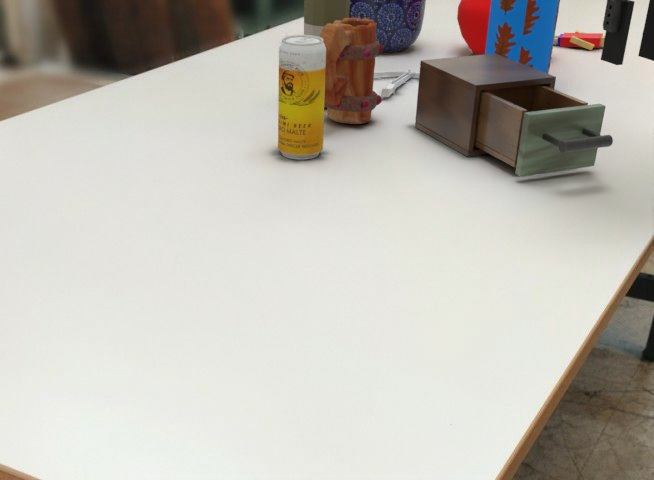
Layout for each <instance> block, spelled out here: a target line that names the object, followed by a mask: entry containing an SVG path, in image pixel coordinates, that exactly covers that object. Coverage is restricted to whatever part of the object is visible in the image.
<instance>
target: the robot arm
mask: <svg viewBox="0 0 654 480" xmlns="http://www.w3.org/2000/svg"><path fill="white" fill-rule="evenodd" d="M634 6H635V1H633V0H606V6H605V11H604V17H603V21H602V29H603V31H605V33H604V36H605V39H604V45H602V51H601V56H600V60H601V61H603V62H606V63H609V64H612V65H615V66H621V65H624V58H625V54H626V53H625V52H626V48H627V42H628V38H629V33H630V28H631V21H632V17H633V13H634V8H635V7H634ZM637 57H640V58H644V59H645V60H646V59H647V60H650V61H652V62H654V0H649V2H648V6H647V11H646V16H645V21H644V26H643V31H642V35H641V41H640V45H639V50H638V56H637Z"/></svg>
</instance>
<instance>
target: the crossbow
mask: <svg viewBox="0 0 654 480" xmlns="http://www.w3.org/2000/svg"><path fill="white" fill-rule="evenodd" d="M419 74H420V72H415V71H411V70H410V69H407V71H406V70H405V71H404V70H403V71H379V72H374V78H377V79H379V80H382V81H384V82H387V83H388V84H387V86H386V87H383V88H382V89H381V98H382V97H383V98H389V97H390V96H391V95H395V94H396V88H398V87H400V86H401V85H403V84H408V83H409V84H410V83H413V81H408V80H410V79H411V78H412V79H419ZM385 77H386V78H387V77H397V78H395V79H392V81H388V80H386V79H383V78H385Z"/></svg>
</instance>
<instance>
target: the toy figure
mask: <svg viewBox="0 0 654 480" xmlns="http://www.w3.org/2000/svg"><path fill="white" fill-rule="evenodd" d="M604 39H605V35H604V33H599V32H598V33H595V32H594V33H592V32H583V31H580V30H575V32H564V33H560V35H557V34H555V36H554V42H553V45H554V44H555V45H556V46H559V47H561V48H563V47H564V48H584V49H586V50H589V51H593V49H595V48H598V49H599V48H600V47H601V46H603V45H604Z"/></svg>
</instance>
